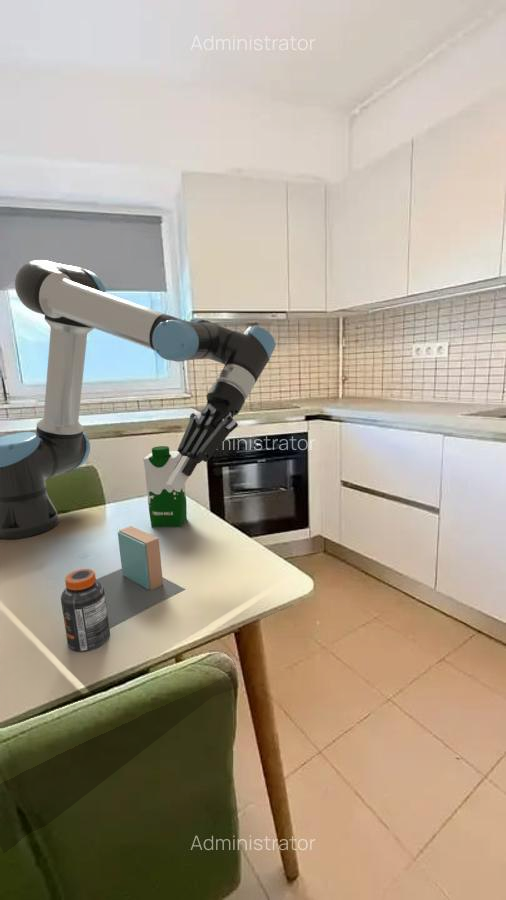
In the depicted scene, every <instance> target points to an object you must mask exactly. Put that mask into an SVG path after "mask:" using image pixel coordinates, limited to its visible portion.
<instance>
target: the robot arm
mask: <svg viewBox="0 0 506 900" xmlns="http://www.w3.org/2000/svg"><path fill="white" fill-rule="evenodd" d="M14 286H15V292H16V296H17V298H18V299H19V301H20V302H21V303H22V304H23V305H24V306H25V308H27V309H28V310H30V311H32V312H34V313H37V314H40V315H43V316H44V320H45V322H46V324H48V325H49V328H50V330H49V331H50V332H49V344H48V345H49V347H48V357H47V371H46V384H45V396H44V409H43V410H44V411H43V417H42V419H40V420H38V421H37V423H36V429H35V431H36V432H32V431H30V432H29V431H24V432H23V431H22V432H16V433H12V434H8V435H7V434H6V435H3V436H1V437H0V539H2V538H3V540H13V539H22V538H28V537H33V536H36V535H39V534H43V533H45V532H47V531H50V530H51V529H53V528H55V527H56V526H57V525H58V524H59V514H58V511H57V509H56V507H55V505H54V504H53V502H52V500H51V499H50V496H49V495H48V492H47V484H46V480H48V479H50V478H53V477H57V476H58V475H62V474H64V473H69V472H73V471H74V470H76V469H78V468H80V467H81V466H83V465H84V463H86V462H87V460H88V458H89V456H90V454H91V453H90V452H91V442H90V440H89V439H88V435H87V433H86V432H85V431H84V426H83V425H82V424H81V423H80V422H79V418H80V408H81V400H82V398H81V397H82V389H83V380H84V371H85V370H84V368H85V367H84V366H85V360H86V349H87V340H88V334H89V333H91V332H92V331H93V330H94V329H96V330H98V331H101V332H104V333H106V334H109V335H111V336H115V337H116V338H119V339H123V340H126V341H128V342H130V343H133V344H135V345H139V346H141V347H143V348H147V349H150V350H153V351H155V352H156V354H158V356H159V357H161V358H162V359H164V360H167V361H172V362H177V363H179V362H185V361H191V360H193V361H194V360H207V359H208V360H211V361H215V362H217V363H220V364H223V365H224V366H223V368H222V369H221V372H220V373H219V375H218V377H217V378H216V380H215V382H214V383H213V384H212V385H211V387H210V389H209V390H208V392H207V394H206V400H207V401H206V403H207V404H206V405H205V406H204V407H203V408H202V409H201V411H200V412H199V413H198V414H196V413H194V412H192V413H190V415H189V419H188V420H189V421H188V424H187V426H186V429H185V431H184V434H183V436H182V438H181V440H180V443H179V445H178V448H177V450H176V451H178V452H179V453H180V454H181V455H182V456H181V458H180V460H179V462H178V464H177V466H176V467H175V469H174V471H173V473H172V475H171V476H170V478H169V480H168V481H167V483H166V484H167V485H168V486H169V487H171V488H172V489H173V490H175V491H177V492H180V491H181V489H182V488H183V486H184V484H185V485H186V482H187V481H188V479H189V477H190V476H191V475H192V474H193V473H194V470H195V469H196V467H197V466H198V464H200V463H202V462H204V463H207V462H208V461H209V460H210V459H211V458H212V456H213V455H214V454H215V452H217V451H218V448H219V447H220V446H221V444H223V442H224V441H225V440H226V438H227V437H228V436H229V434H230V433H232V432H233V431H234V430H235V429H236V428H237V427H238V426H239V423H238V422H237V421H236V420H235V419H234V416H237V415H238V414H240V411H241V409H242V407H243V406H244V404H245V403H246V400H247V399H248V398H249V397H250V394H251V392H252V391H253V389H254V387H255V385H256V383H257V381H258V379H259V377H260V375H262V373H263V371H264V370H265V368H266V366H267V364H268V363H270V362H269V361H270V358H271V356H272V355H273V353H274V351H275V348H276V341H275V338H274V336H273V335H272V334H271V332H269V331H268V330H267V329H265V328H264V327H261V326H253V325H251V326H249V327H247V329H246V330H245V331H244V332H243V333H241V332H240V331H235V330H232V329H229V328H226V327H224V326H222V325H219V324H217V323H213V322H211V321H210V320H207V319H206V320H205V319H201V318H200V317H199V318H198V317H193V318H192V319H190V320H189V321H188V320H184V319H182V318H178V317H176V316H172V315H169V314H166V313H163V312H161V311H157V310H155V309H152V308H150V307H146V306H143V305H140V304H137V303H136V302H135V303H134V302H132V301H129V300H125V299H123V298H120V297H117V296H114V295H111V294H109V293H107V290H106V287H105V284H103V282H102V281H101V279H100V277H99V276H98V275H96V273H94V272H92V271H90V270H87V269H85V268H82V267H80V266H73V265H67V264H62V263H57V262H54V261H49V260H44V259H40V260H39V259H38V260H32V261H29V262H26V263H25V264H24V265H22V266H21V267H20V269H18V272H17V273H16V275H15V279H14Z"/></svg>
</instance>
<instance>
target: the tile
mask: <svg viewBox="0 0 506 900" xmlns="http://www.w3.org/2000/svg"><path fill="white" fill-rule="evenodd" d="M117 539H118V545H119V547H118V548H119V556H120V563H121V564H120V565H121V569H122V574H123V575H124V576H126V577H127V578H129V579H131V580H133V581H134V582H136V583H138V584H139V585H141V586H143V587H145V588H146V589H148V590H149V589H150V590H152V589H154V588H156V587H159V586H161V585H163V578H164V577H163V569H162V568H163V567H162V559H161V548H160V538H159V537H157V536H154V535H152V534H150V533H148V532H145V531H143V530H141V529H140V528H136V527H134V526H131V525H130V526H128V527H125V528H122V529H119V530H118V532H117ZM162 577H163V578H162Z"/></svg>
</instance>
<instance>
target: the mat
mask: <svg viewBox="0 0 506 900" xmlns="http://www.w3.org/2000/svg"><path fill="white" fill-rule="evenodd" d="M162 578H163V585H161V586H159V587H156V588H154V589H152V590H150V589H149V590H148V589H146V588H145V587H143V586H141V585H139V584H138V583H136V582H134V581H133V580H131V579H129V578H127V577H126V576H124V575H123V574H122V568H120V569H117V570H115V571H113V572H109V573H108V574H105V575H103V576H101V577H99V578H98V577H97V578H96V581H97V582H99V583H101V584H102V585H103V587H104V593H105V600H106V607H107V615H108V622H109V630H110V629H111V628H113V627H115V626H117V625H119V624H122V623H123V622H125V621H127V620H129V619H131V618H133V617H134V616H136V615H138V614H140V613H142V612H145V611H146V610H148V609H151V608H152V607H154V606H156V605H158V604H160V603H162V602H164V601H165V600H168V599H170V598H171V597H173V596H176V595H177V594H179V593H181V592H183V591H185V590H186V589H185V588H184V587H182V586H180V585H178V584H176V583H174V582H172V581H171V580H168V579H167V578H165V577H163V576H162Z"/></svg>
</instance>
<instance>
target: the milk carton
mask: <svg viewBox="0 0 506 900" xmlns="http://www.w3.org/2000/svg"><path fill="white" fill-rule="evenodd" d="M181 456H182V455H181V454H180V453H179V452H178V451H177V450H171V451H170V447H169V446H166V445H165V446H164V445H162V446H159V445H158V446H155V447H152V448H151V452H150V453H148V455H146V456H145V457H144V458H142V460H143V465H144V474H145V482H146V483H145V485H146V494H147V503H148V505H147V506H148V513H149V519H150V525H151V526H150V527H151V529H153V528H180V529H181V528H182V527H183V525H184V524H185V522H186V521H187V519H188V518H187V513H188V512H187V493H186V492H187V491H186V483H185V484H184V486H183V488H182V489H181V491H180V492H177V491H175V490H173V489H172V488H171V487H169V486H168V485H167V484H166V483H167V481H168V480H169V478H170V476H171V475H172V473H173V471H174V469H175V467H176V466H177V464H178V462H179V460H180V458H181Z"/></svg>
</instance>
